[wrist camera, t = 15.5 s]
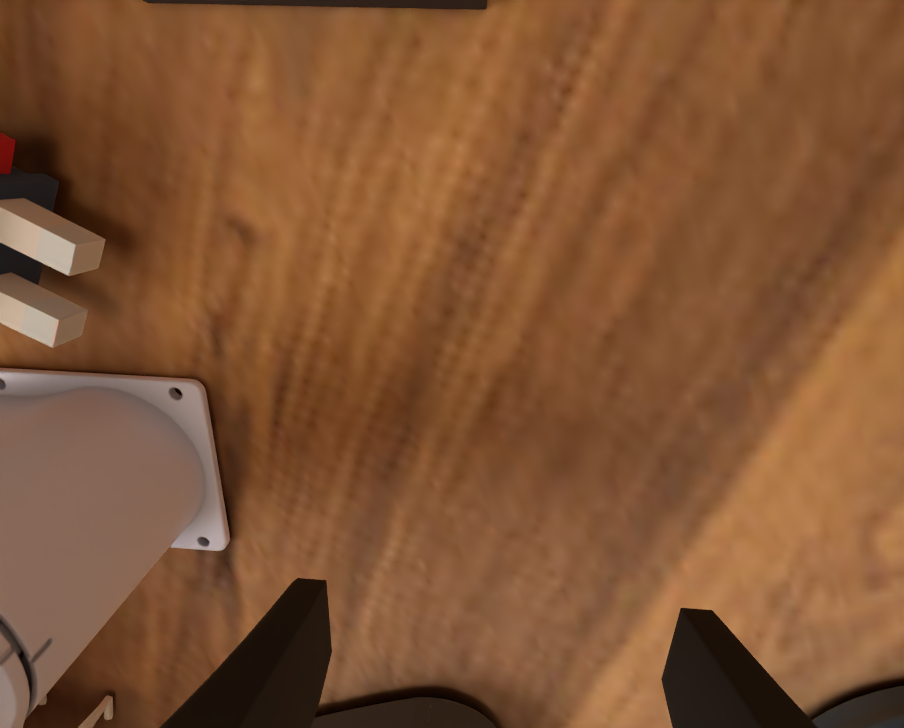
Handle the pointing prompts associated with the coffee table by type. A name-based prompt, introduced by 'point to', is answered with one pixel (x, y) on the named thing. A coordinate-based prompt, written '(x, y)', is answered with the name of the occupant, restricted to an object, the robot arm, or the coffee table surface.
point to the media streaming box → (407, 715)
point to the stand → (347, 3)
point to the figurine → (39, 254)
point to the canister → (867, 711)
